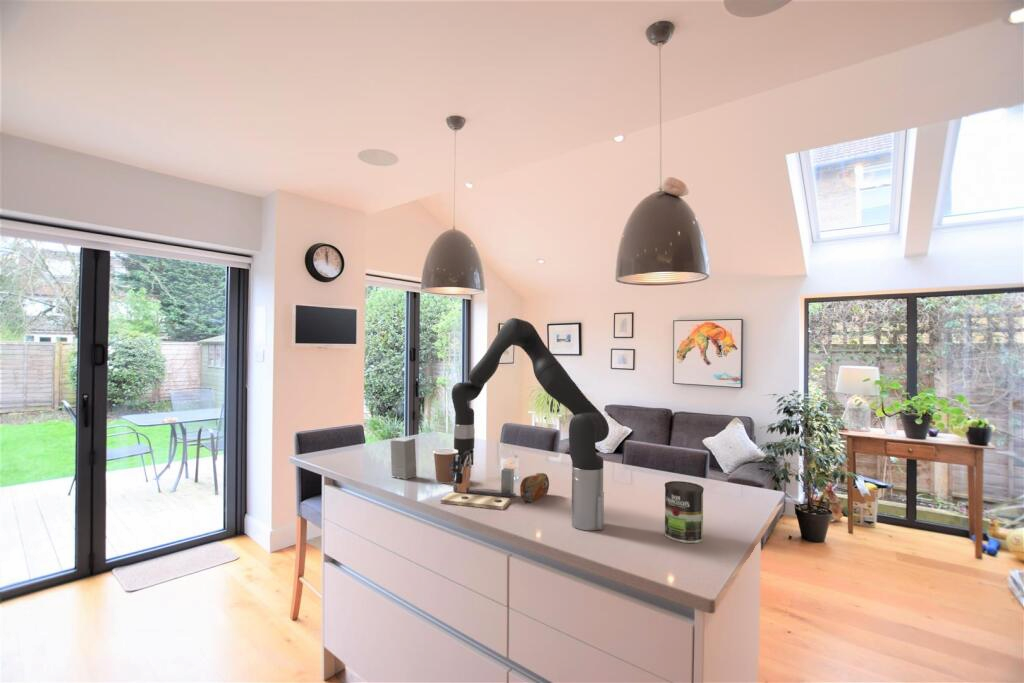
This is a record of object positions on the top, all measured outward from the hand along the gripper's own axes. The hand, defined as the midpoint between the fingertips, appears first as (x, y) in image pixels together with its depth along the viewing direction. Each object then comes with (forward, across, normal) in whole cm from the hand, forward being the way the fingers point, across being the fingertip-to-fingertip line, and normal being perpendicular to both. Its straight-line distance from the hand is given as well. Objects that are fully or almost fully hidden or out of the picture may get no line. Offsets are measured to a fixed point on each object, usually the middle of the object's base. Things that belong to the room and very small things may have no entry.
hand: (463, 480), depth 171 cm
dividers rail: (+4, 0, -9) cm, 10 cm away
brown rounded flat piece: (+4, 0, -27) cm, 27 cm away
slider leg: (+4, 0, 0) cm, 4 cm away
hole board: (+4, -11, -9) cm, 15 cm away
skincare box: (+4, +11, +31) cm, 33 cm away
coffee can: (+4, -21, -75) cm, 78 cm away
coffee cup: (+4, +11, +12) cm, 17 cm away
